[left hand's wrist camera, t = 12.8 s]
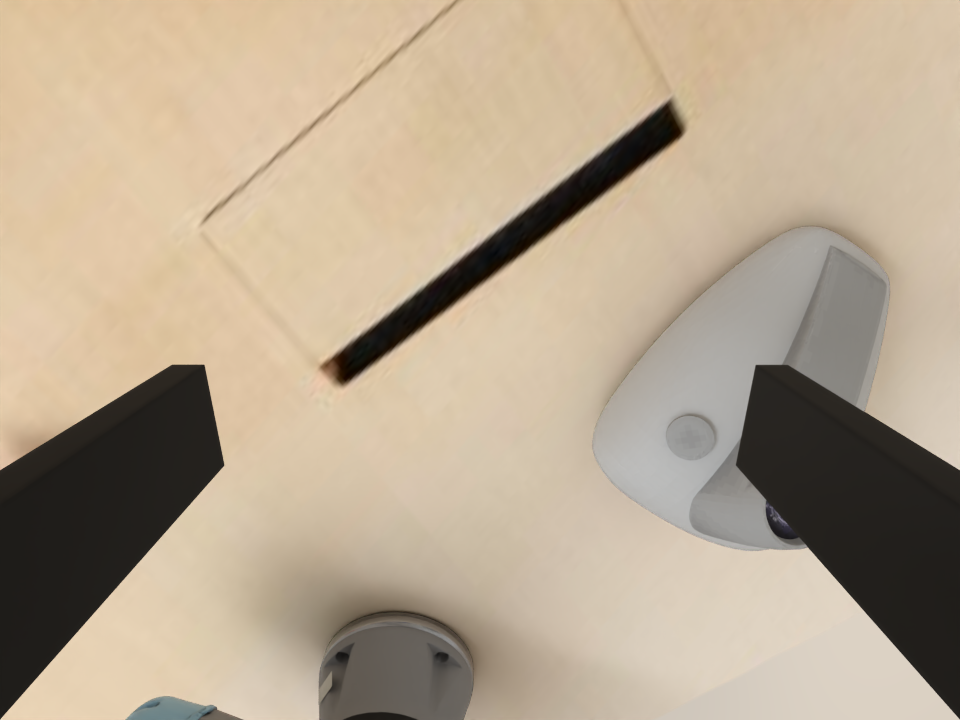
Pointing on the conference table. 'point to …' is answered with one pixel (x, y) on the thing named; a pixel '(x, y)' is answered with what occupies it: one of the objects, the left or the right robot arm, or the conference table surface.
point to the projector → (741, 382)
